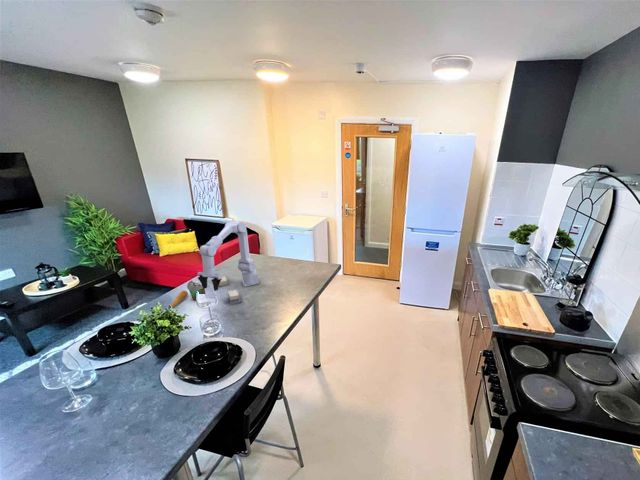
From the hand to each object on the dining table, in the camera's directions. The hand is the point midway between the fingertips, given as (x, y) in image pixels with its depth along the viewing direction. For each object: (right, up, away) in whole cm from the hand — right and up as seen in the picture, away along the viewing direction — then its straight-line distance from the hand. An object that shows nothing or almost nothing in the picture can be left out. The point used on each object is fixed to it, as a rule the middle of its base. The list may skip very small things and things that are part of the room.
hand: (210, 289), depth 166 cm
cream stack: (-9, +3, +31) cm, 32 cm away
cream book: (+9, -5, +9) cm, 14 cm away
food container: (-14, -7, +10) cm, 18 cm away
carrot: (-23, -9, +5) cm, 25 cm away
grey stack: (+9, -7, +10) cm, 15 cm away
